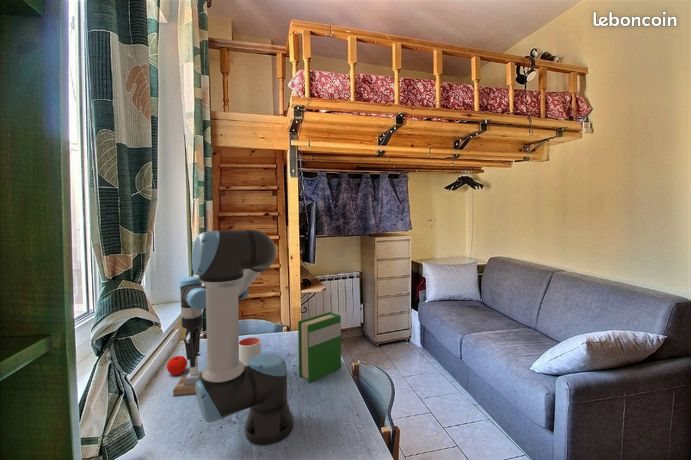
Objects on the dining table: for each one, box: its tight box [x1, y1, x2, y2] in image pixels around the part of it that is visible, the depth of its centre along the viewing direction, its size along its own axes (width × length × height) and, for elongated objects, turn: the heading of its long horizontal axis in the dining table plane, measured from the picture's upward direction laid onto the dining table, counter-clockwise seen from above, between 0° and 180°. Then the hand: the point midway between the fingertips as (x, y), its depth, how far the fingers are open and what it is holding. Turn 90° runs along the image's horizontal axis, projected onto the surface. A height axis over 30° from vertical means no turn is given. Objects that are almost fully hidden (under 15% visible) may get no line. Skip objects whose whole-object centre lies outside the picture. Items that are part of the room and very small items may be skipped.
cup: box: [239, 337, 262, 367], centre depth 146 cm, size 10×10×10 cm
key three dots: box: [185, 370, 203, 386], centre depth 125 cm, size 5×5×4 cm
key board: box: [172, 374, 196, 397], centre depth 127 cm, size 11×28×2 cm, turn 99°
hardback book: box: [297, 311, 342, 384], centre depth 136 cm, size 18×7×24 cm, turn 133°
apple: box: [166, 355, 188, 376], centre depth 137 cm, size 8×8×7 cm
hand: (194, 373), depth 125 cm, fingers closed
